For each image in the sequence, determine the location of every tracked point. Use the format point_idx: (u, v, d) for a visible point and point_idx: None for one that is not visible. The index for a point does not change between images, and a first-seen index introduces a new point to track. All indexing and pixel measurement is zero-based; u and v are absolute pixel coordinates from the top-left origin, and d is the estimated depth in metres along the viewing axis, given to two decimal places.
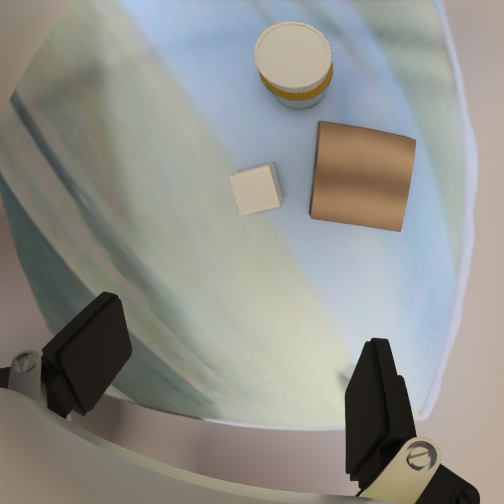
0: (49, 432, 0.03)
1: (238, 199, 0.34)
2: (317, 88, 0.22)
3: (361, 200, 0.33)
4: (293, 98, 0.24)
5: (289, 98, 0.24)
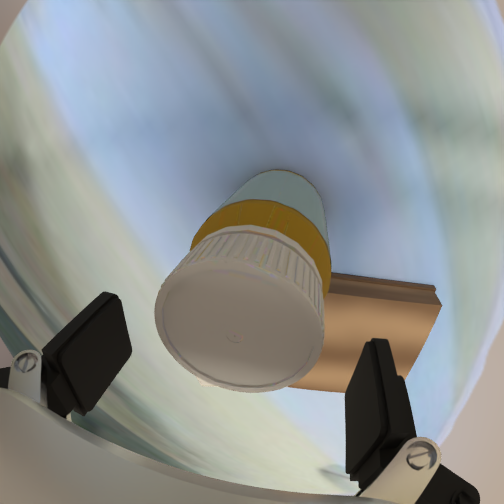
0: (49, 432, 0.03)
1: None
2: None
3: (352, 373, 0.25)
4: None
5: None
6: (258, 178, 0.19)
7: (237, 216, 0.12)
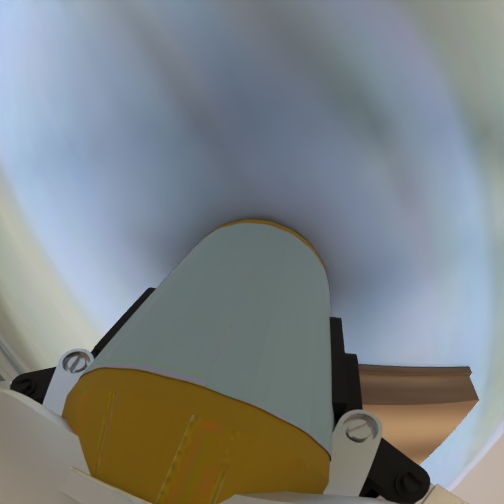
0: (49, 432, 0.03)
1: None
2: None
3: None
4: None
5: None
6: (210, 247, 0.10)
7: (101, 435, 0.04)
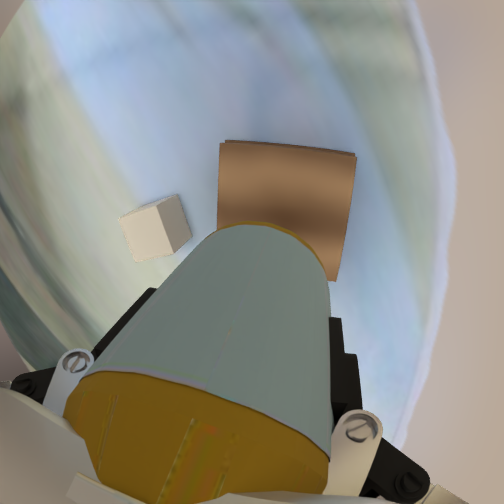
0: (49, 432, 0.03)
1: (130, 244, 0.28)
2: None
3: None
4: None
5: None
6: (210, 249, 0.10)
7: (101, 438, 0.04)
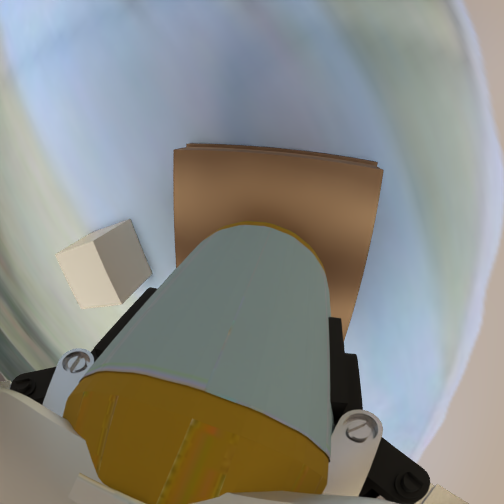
0: (49, 432, 0.03)
1: (72, 287, 0.20)
2: None
3: None
4: None
5: None
6: (210, 249, 0.10)
7: (101, 438, 0.04)
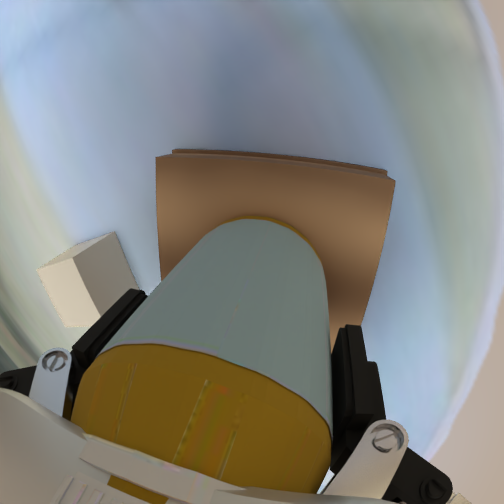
0: (49, 432, 0.03)
1: (55, 304, 0.18)
2: None
3: None
4: None
5: None
6: (214, 240, 0.11)
7: (120, 403, 0.04)
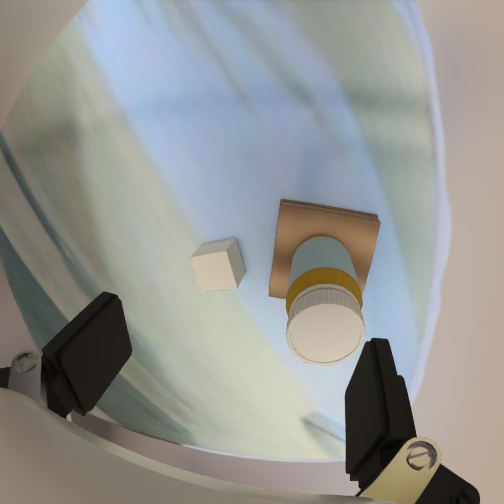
0: (49, 432, 0.03)
1: (199, 278, 0.37)
2: None
3: None
4: None
5: None
6: (316, 244, 0.30)
7: (322, 278, 0.23)
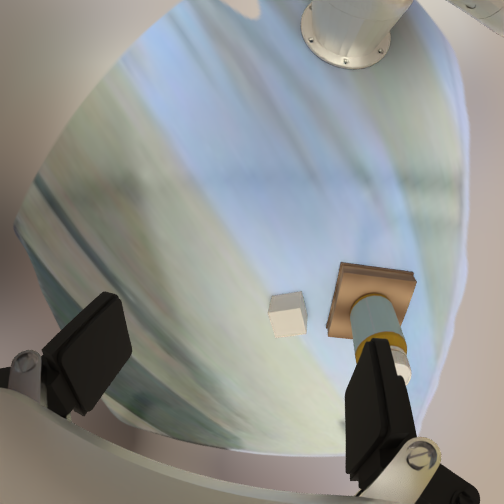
0: (49, 432, 0.03)
1: (275, 327, 0.44)
2: None
3: None
4: None
5: None
6: (372, 305, 0.38)
7: None
